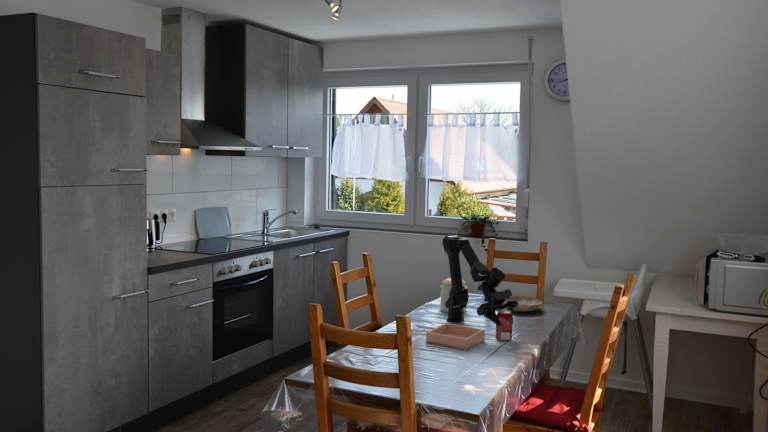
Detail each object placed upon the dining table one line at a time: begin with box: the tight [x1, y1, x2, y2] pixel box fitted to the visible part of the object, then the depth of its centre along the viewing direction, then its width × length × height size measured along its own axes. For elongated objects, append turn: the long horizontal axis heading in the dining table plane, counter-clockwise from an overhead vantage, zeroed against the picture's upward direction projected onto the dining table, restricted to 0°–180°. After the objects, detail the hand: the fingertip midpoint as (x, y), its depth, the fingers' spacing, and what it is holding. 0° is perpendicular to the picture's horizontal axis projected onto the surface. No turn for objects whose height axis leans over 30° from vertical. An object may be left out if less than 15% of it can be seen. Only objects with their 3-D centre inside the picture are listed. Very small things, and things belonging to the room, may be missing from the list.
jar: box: [439, 277, 468, 313], centre depth 337 cm, size 13×13×18 cm
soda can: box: [495, 309, 514, 342], centre depth 287 cm, size 7×7×12 cm
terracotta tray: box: [425, 322, 486, 352], centre depth 283 cm, size 18×18×4 cm
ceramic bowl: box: [503, 294, 543, 313], centre depth 343 cm, size 23×24×5 cm
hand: (506, 324), depth 286 cm, fingers closed on soda can, 6 cm apart
